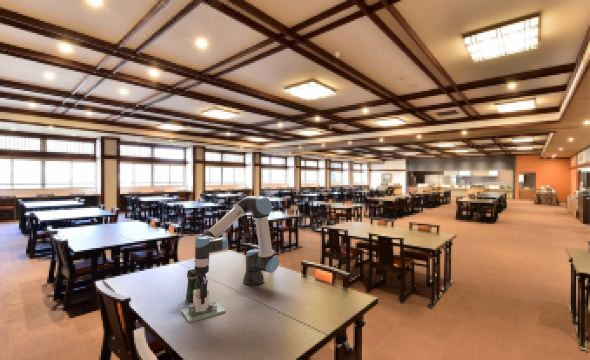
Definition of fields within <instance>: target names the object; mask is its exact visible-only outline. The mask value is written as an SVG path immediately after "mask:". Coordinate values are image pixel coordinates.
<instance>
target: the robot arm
mask: <svg viewBox="0 0 590 360" xmlns="http://www.w3.org/2000/svg"><path fill="white" fill-rule="evenodd" d="M272 209H273V204H272V201H271V200H270V199H269V198H268V197H266V196H263V195H262V196H259V195H256V196H255V195H248V196H245V197H244V198H242V199H240V200H239V201H237V202H236V203H235V204H234V205H233V208H232V209H231V210H229V211H228V212H227V213H226V214H224V216H222V217H221V218H220V219H219V220H218V221H217V222H216V223H214V224H213V225H212V226H211V227H210V228H209V229H208V230H206V232H205V233H200V234H197V236H196V237H195V239H194V243H195V244H194V260H193V262H194V269H195V270H194V272H195V273H196V289H200V297H199V299H200V304H199V310H203V309H205V298H206V297H207V289H208V282H209V280H208V279H207V275H206V274H208V273H209V271H210V270H209V269H210V265H209V264H210V254H211V253H217V252H222V251H224V250H227V249H228V247H229V241H228V238H226V237H224V236H222V237H220V236H221V235H222V234H223V233H224V232H226V231H227V230H228V229H229V228H230V227H231V226H232V225H233V224H234V223H235V222H236V221H238V219H239V218H241V217H244V216H245V215H246V214H250V213H251V217H252V219H254V220H255V227H256V233H257V242H258V249H257V248H256V249H255V248H254V249H250V250H247V251H246V253H245V254H246V255H245V272H244V276H243V278H242V284H244V285H246V284H247V286H257V285H256V284H259V285H261V284H260V283H262V282H263V281H264V282H265V278H264V274H263V272H266V273H270V274H273V273H275V272H276V271H277V270H278V267H279V265H280V258H279V257H278V256H277V255H276V252H275V250H273V248H272V247H273V246H272V240H271V232H270V225H269V216H270V213H271V212H272ZM264 282H263V283H264ZM263 283H262V284H263Z"/></svg>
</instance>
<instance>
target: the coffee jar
mask: <svg viewBox="0 0 590 360" xmlns="http://www.w3.org/2000/svg"><path fill="white" fill-rule="evenodd" d="M194 270H195V268H193V269H188V270H187V272H186V278H187V289H186V295H185V299H186V300H187V301H188V302H193V292H194V290H196V273H195V272H194Z"/></svg>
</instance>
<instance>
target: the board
mask: <svg viewBox="0 0 590 360" xmlns="http://www.w3.org/2000/svg"><path fill="white" fill-rule="evenodd" d="M209 302H210V301H209ZM210 303H211V304H212V305H213V312H209V313H206V314H202V315H198V316H195V317H192V316H191V315H190V313H189V307H187V308H183V309H181V314H182V315H183V316H184V318H185V320H186V322H187V324H189V323H194V322H196V321H200V320H203V319H207V318H210V317H215V316H218V315H221V314H225V313H226V311H227V310H226V309H225V308H224V307H223V306H222V305H221V304H220V303H219V302H218V301H217V300H216V301H211V302H210ZM206 311H209V310H208V309H203V310H199V311H195V314H199V313H202V312H206Z"/></svg>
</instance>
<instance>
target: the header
mask: <svg viewBox="0 0 590 360" xmlns="http://www.w3.org/2000/svg"><path fill="white" fill-rule="evenodd" d="M188 308H189V313H190V315H191V316H192V317H195V316H198V315H202V314H206V313H209V312H213V305H212V304H211V303H210V301H209V305H208V308H207V309H208V310H209V311H206V312H202V313H199V314H195V310H194V308H193V304H190V305H188Z"/></svg>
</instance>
